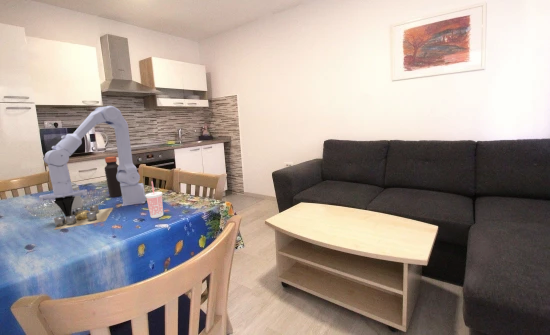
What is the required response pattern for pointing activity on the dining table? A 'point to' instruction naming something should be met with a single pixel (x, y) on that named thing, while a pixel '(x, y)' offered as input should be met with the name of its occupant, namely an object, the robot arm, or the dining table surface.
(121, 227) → the dining table surface
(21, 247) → the dining table surface
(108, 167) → the bottle
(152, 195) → the beverage cup
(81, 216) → the gold dome
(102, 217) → the board
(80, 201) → the can
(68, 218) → the metal pegs
